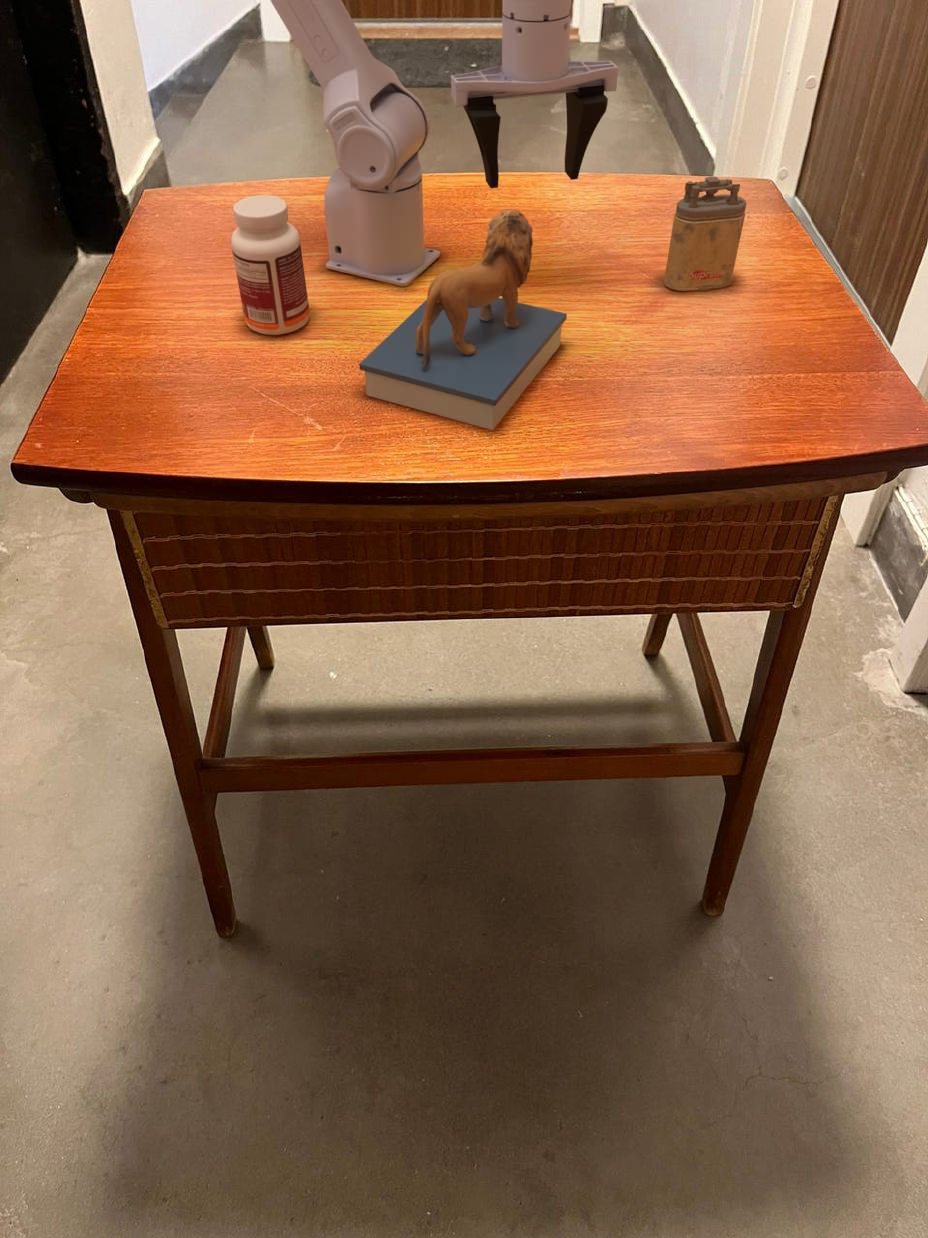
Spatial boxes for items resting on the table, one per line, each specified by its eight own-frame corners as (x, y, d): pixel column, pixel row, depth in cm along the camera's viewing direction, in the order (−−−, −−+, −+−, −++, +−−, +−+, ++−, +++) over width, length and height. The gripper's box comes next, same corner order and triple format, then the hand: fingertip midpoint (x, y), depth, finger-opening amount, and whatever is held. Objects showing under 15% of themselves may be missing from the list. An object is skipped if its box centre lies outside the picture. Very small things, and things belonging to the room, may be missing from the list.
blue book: (361, 396, 85) (358, 363, 82) (442, 315, 94) (442, 284, 92) (494, 433, 81) (495, 400, 78) (564, 345, 91) (567, 313, 88)
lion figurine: (494, 293, 91) (496, 195, 84) (543, 309, 89) (549, 210, 82) (399, 362, 82) (393, 259, 76) (451, 382, 80) (450, 277, 74)
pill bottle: (301, 300, 96) (287, 186, 89) (317, 330, 92) (303, 214, 84) (239, 311, 95) (218, 196, 87) (252, 342, 91) (232, 224, 83)
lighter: (723, 271, 101) (743, 171, 94) (738, 288, 98) (760, 187, 91) (658, 277, 100) (673, 177, 93) (671, 295, 97) (687, 193, 90)
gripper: (604, -7, 85) (593, 155, 95) (441, 7, 83) (446, 171, 93) (631, 15, 81) (616, 183, 90) (459, 29, 79) (462, 200, 88)
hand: (531, 179), depth 91 cm, fingers open, 7 cm apart
